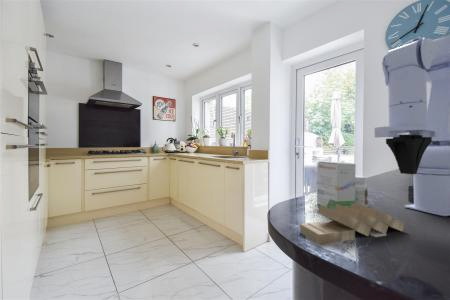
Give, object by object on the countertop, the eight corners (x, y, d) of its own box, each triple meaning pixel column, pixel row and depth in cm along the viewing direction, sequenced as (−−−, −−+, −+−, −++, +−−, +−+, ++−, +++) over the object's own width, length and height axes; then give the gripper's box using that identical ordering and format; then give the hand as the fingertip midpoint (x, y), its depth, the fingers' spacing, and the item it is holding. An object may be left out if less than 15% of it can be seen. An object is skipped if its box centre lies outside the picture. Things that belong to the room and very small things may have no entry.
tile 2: (363, 217, 41) (336, 203, 40) (388, 225, 36) (359, 211, 35) (360, 224, 41) (333, 211, 40) (385, 234, 36) (356, 220, 35)
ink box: (316, 203, 57) (315, 161, 57) (333, 202, 58) (332, 160, 58) (338, 213, 49) (337, 162, 49) (357, 211, 50) (356, 162, 50)
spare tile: (346, 218, 40) (319, 204, 39) (371, 227, 35) (341, 212, 34) (343, 226, 40) (316, 212, 38) (368, 236, 35) (337, 221, 34)
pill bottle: (371, 208, 52) (370, 177, 52) (351, 207, 53) (351, 177, 53) (363, 204, 56) (362, 175, 56) (345, 203, 57) (345, 175, 57)
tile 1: (378, 215, 42) (352, 202, 41) (405, 223, 38) (377, 209, 36) (375, 222, 42) (350, 210, 41) (402, 231, 37) (374, 218, 36)
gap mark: (356, 223, 42) (356, 223, 42) (386, 235, 36) (386, 234, 36) (346, 225, 41) (346, 224, 41) (375, 237, 35) (375, 236, 35)
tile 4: (332, 220, 39) (300, 223, 38) (354, 229, 35) (319, 234, 33) (332, 228, 39) (300, 232, 38) (354, 239, 35) (319, 244, 33)
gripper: (411, 110, 47) (412, 170, 47) (360, 108, 43) (361, 173, 43) (451, 103, 40) (453, 173, 40) (395, 100, 36) (397, 177, 36)
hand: (408, 173), depth 41 cm, fingers closed
